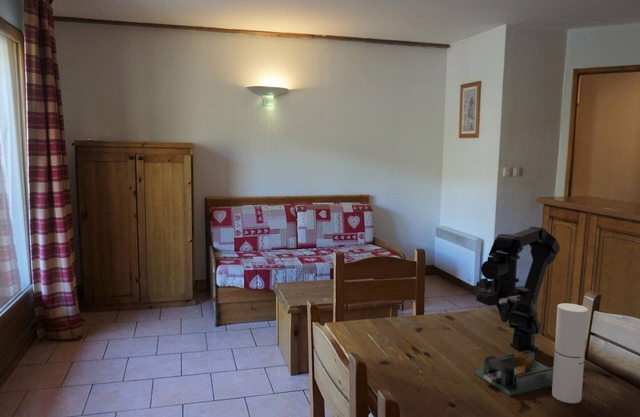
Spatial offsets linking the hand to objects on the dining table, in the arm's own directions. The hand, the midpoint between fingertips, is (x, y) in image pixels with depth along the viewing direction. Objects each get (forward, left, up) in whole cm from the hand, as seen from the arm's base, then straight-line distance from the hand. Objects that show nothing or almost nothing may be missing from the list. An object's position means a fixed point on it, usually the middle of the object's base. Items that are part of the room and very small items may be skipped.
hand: (504, 321), depth 156 cm
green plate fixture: (+5, +13, -12) cm, 18 cm away
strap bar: (+11, +13, -10) cm, 20 cm away
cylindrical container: (+2, +26, -12) cm, 29 cm away
